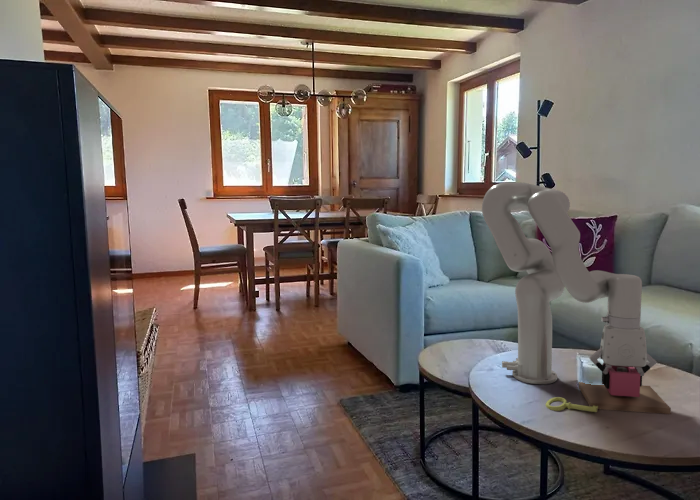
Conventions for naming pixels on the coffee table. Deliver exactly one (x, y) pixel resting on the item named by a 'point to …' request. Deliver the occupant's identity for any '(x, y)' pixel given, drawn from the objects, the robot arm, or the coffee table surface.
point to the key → (568, 405)
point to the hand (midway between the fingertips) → (621, 387)
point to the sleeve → (624, 382)
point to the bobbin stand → (624, 399)
